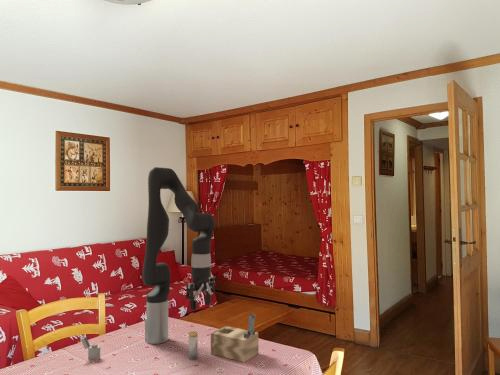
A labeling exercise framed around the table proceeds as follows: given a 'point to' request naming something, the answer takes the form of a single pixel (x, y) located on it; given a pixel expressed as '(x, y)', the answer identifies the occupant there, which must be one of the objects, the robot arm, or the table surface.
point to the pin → (193, 345)
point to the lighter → (91, 349)
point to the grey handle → (251, 324)
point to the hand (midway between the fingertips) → (200, 307)
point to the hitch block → (234, 343)
